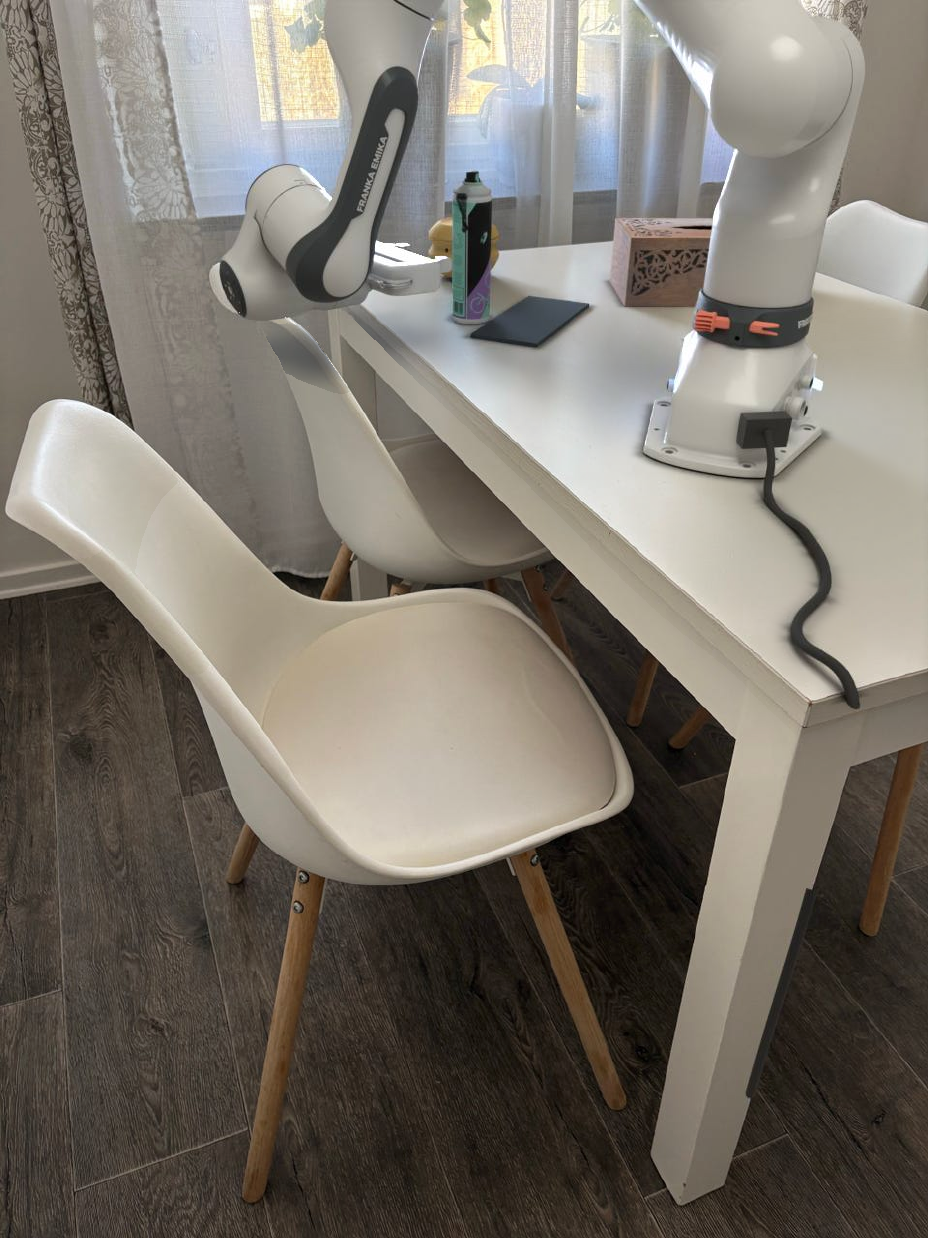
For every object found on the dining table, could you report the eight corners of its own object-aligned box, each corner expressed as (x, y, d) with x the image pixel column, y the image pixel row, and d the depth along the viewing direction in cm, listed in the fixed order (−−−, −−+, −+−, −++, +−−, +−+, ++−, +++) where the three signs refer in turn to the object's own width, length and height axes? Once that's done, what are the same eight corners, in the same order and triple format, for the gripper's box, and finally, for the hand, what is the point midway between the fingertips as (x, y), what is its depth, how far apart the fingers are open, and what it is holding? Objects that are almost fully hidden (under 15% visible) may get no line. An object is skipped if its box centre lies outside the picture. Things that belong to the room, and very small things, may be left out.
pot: (431, 266, 169) (430, 205, 163) (498, 268, 168) (500, 206, 163) (426, 284, 159) (425, 219, 154) (498, 285, 159) (499, 220, 153)
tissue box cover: (763, 281, 162) (774, 217, 157) (790, 305, 150) (803, 237, 145) (609, 281, 161) (615, 217, 156) (624, 306, 149) (631, 237, 144)
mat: (536, 347, 132) (536, 343, 132) (469, 337, 136) (469, 333, 135) (589, 306, 149) (589, 303, 149) (528, 298, 152) (528, 295, 152)
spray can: (486, 325, 140) (488, 174, 129) (448, 322, 141) (448, 173, 130) (492, 314, 145) (495, 168, 134) (456, 312, 146) (457, 166, 135)
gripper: (384, 261, 118) (474, 246, 125) (301, 232, 132) (387, 220, 139) (386, 313, 121) (474, 296, 128) (305, 280, 135) (388, 265, 142)
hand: (428, 256), depth 134 cm, fingers open, 8 cm apart
